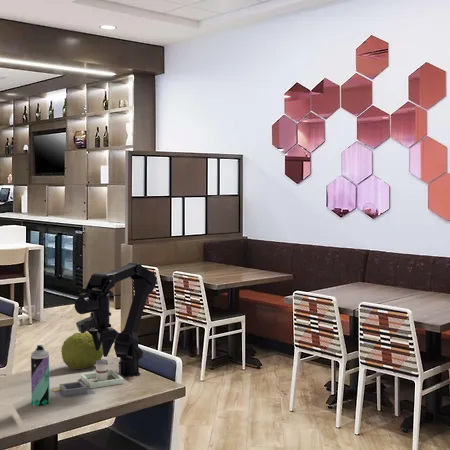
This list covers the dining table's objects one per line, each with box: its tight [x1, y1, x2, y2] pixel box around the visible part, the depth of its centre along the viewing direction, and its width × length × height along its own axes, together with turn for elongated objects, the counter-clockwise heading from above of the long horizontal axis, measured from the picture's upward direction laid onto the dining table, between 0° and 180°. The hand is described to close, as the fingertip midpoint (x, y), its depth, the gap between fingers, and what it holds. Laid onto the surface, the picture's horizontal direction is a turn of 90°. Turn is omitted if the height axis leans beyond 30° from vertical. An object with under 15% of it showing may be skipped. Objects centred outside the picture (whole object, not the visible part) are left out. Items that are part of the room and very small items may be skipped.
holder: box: [51, 380, 96, 400], centre depth 218 cm, size 12×10×4 cm
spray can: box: [30, 344, 51, 407], centre depth 207 cm, size 6×6×20 cm
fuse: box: [95, 358, 109, 382], centre depth 230 cm, size 4×4×8 cm
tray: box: [80, 369, 125, 389], centre depth 230 cm, size 12×12×3 cm
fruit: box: [60, 332, 104, 370], centre depth 251 cm, size 16×14×15 cm
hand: (101, 353), depth 229 cm, fingers open, 9 cm apart
